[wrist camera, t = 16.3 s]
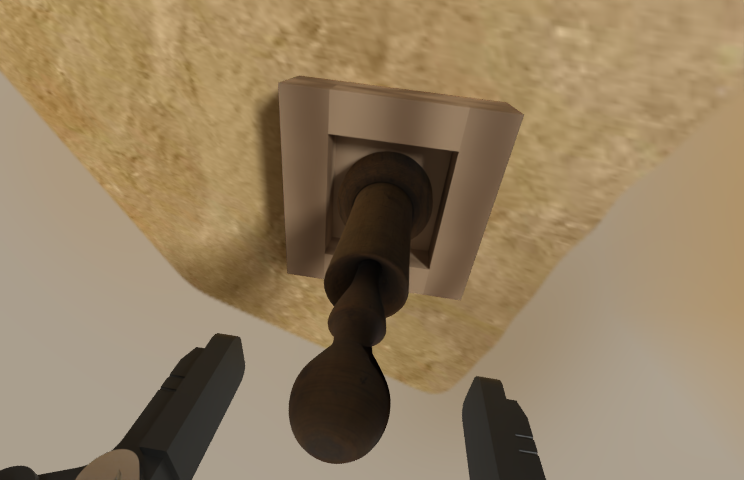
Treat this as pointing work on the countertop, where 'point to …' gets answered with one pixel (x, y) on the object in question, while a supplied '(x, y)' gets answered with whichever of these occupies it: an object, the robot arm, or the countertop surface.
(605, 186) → the countertop surface
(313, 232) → the brown flat square frame
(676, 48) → the countertop surface
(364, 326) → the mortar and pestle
